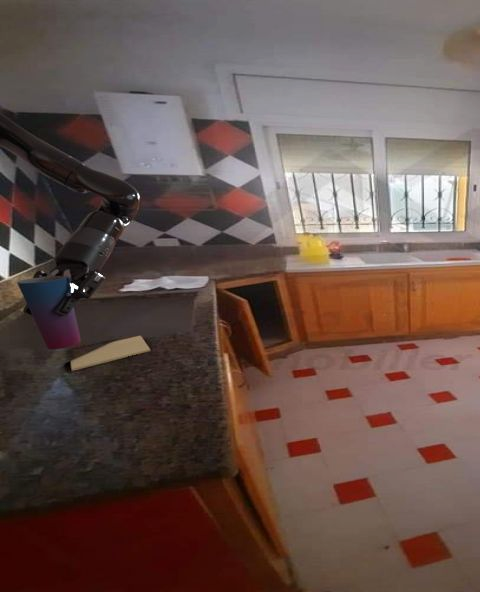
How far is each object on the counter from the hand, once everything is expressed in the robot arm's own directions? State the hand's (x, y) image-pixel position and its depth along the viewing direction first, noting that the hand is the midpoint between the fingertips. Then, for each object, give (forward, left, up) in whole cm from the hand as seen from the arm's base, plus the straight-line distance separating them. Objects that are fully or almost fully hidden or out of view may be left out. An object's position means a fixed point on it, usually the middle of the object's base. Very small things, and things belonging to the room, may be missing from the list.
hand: (44, 314), depth 67 cm
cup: (0, +2, -8) cm, 8 cm away
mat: (-11, +23, -20) cm, 32 cm away
